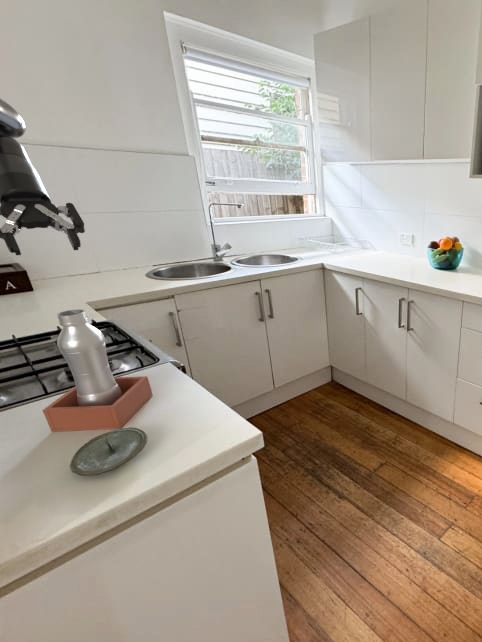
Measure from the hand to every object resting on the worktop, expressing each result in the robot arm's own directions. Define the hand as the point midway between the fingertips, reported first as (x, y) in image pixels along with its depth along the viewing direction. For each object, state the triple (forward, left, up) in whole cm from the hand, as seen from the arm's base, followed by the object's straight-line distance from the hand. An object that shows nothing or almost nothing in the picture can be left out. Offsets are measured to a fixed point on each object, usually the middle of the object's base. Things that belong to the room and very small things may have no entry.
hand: (48, 250), depth 74 cm
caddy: (+11, -14, -29) cm, 34 cm away
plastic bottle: (+11, -14, -28) cm, 33 cm away
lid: (+20, -28, -29) cm, 45 cm away
